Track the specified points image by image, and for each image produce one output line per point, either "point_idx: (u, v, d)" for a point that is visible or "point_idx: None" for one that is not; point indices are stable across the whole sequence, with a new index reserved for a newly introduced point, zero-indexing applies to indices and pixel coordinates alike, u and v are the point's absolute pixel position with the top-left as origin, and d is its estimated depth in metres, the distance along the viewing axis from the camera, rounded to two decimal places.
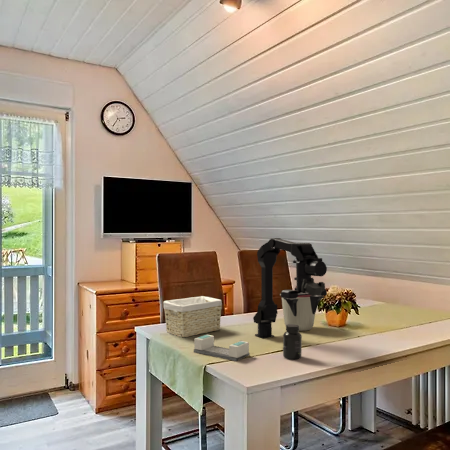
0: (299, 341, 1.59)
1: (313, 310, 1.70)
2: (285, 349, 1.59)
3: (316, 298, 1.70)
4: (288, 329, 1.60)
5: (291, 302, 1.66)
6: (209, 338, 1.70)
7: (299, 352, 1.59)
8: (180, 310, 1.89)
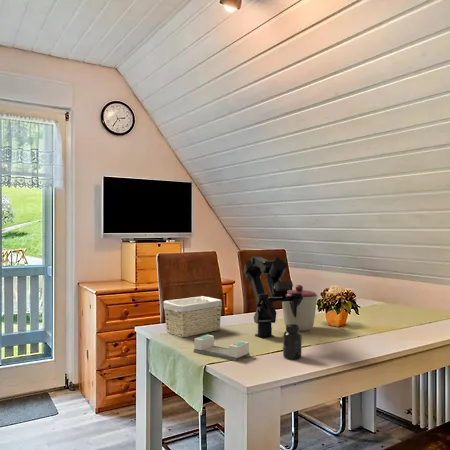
0: (299, 341, 1.59)
1: (294, 313, 1.71)
2: (285, 349, 1.59)
3: (293, 301, 1.74)
4: (288, 329, 1.60)
5: (267, 307, 1.72)
6: (209, 338, 1.70)
7: (299, 352, 1.59)
8: (180, 310, 1.89)
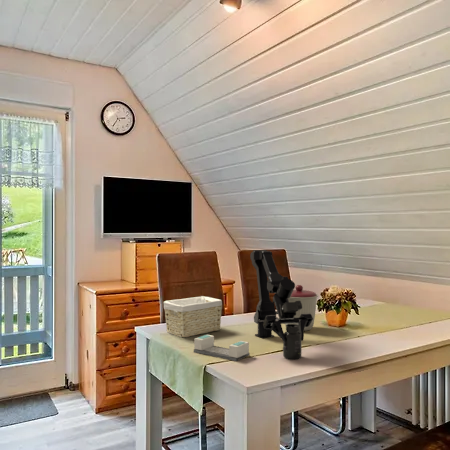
0: (299, 341, 1.59)
1: None
2: (285, 349, 1.59)
3: (300, 323, 1.64)
4: (288, 329, 1.60)
5: (277, 329, 1.63)
6: (209, 338, 1.70)
7: (299, 352, 1.59)
8: (180, 310, 1.89)
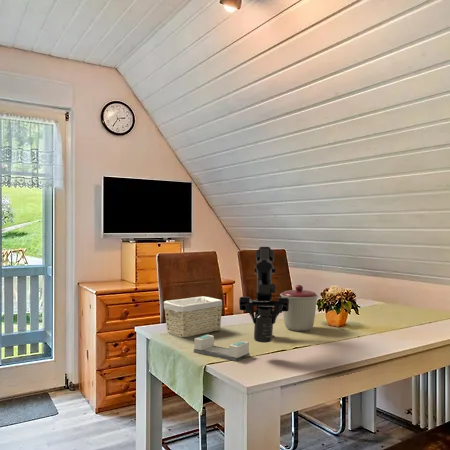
0: (267, 324, 1.57)
1: None
2: (254, 331, 1.60)
3: (274, 307, 1.62)
4: (258, 311, 1.59)
5: None
6: (209, 338, 1.70)
7: (267, 335, 1.57)
8: (180, 310, 1.89)
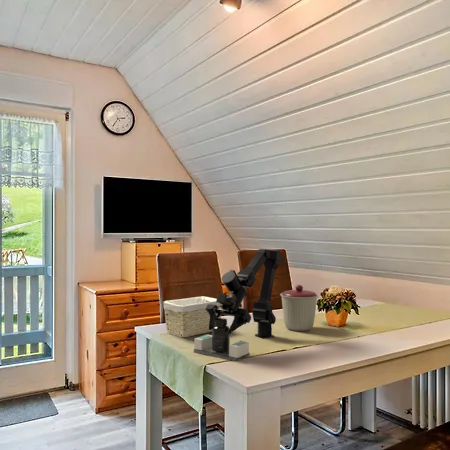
0: (219, 335, 1.63)
1: None
2: None
3: None
4: None
5: None
6: (209, 338, 1.70)
7: (219, 346, 1.63)
8: (180, 310, 1.89)
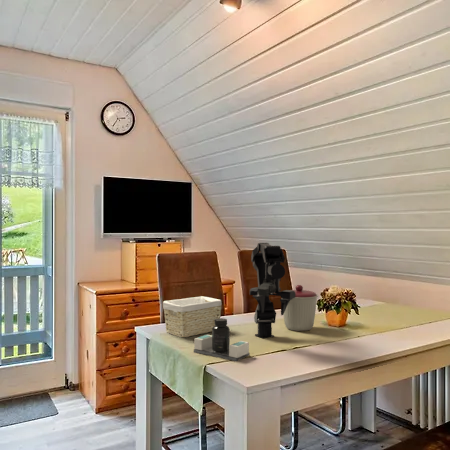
0: (219, 335, 1.63)
1: None
2: None
3: None
4: None
5: None
6: (209, 338, 1.70)
7: (219, 346, 1.63)
8: (180, 310, 1.89)
